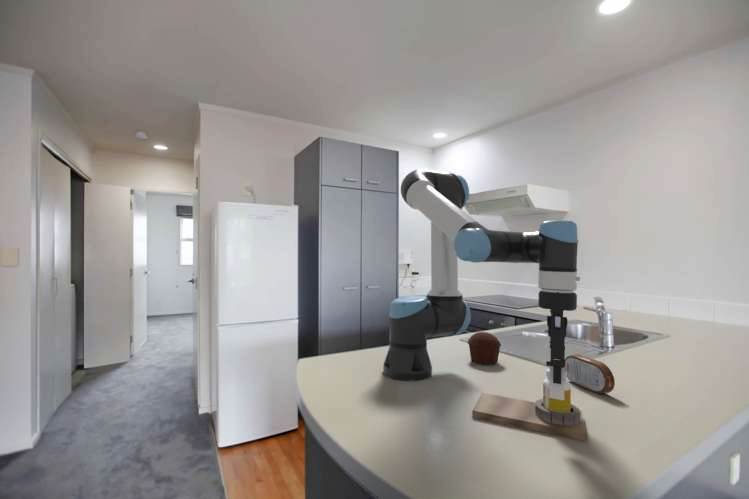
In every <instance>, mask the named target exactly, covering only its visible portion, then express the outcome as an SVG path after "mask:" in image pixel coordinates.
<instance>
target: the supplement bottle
mask: <svg viewBox="0 0 749 499" xmlns="http://www.w3.org/2000/svg"><path fill="white" fill-rule="evenodd" d="M549 375H550V369H549V368H547V369H546V378H545V379H544V380H543V382H542V399H543V407H544V408H545V409H548V410H550V411H553V412H558V413H571V404H572V403H571V402H572V401H571V396H572V395H571V394H572V390H571V384H570V383H569V382H568V381H566V380H567V379H568V377H567V372H565V384H564V400H559V399H553V398H549Z"/></svg>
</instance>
